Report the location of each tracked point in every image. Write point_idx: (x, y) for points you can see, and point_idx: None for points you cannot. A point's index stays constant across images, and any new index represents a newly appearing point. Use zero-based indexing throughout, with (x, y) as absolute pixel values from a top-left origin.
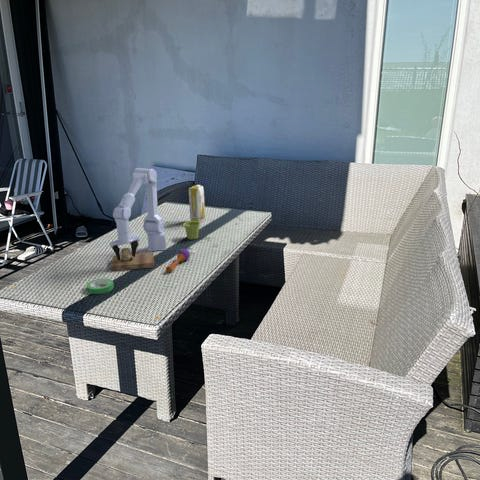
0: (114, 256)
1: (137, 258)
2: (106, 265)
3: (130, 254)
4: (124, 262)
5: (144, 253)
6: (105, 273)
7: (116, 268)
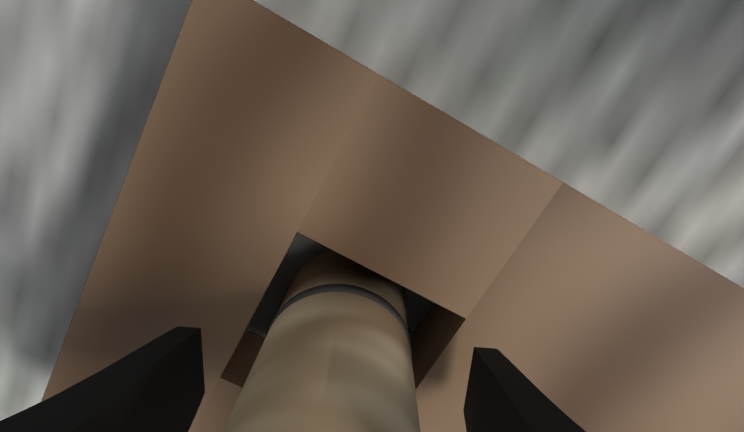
0: (220, 41)
1: None
2: (78, 139)
3: (529, 165)
4: None
5: (740, 295)
6: (10, 385)
7: None
